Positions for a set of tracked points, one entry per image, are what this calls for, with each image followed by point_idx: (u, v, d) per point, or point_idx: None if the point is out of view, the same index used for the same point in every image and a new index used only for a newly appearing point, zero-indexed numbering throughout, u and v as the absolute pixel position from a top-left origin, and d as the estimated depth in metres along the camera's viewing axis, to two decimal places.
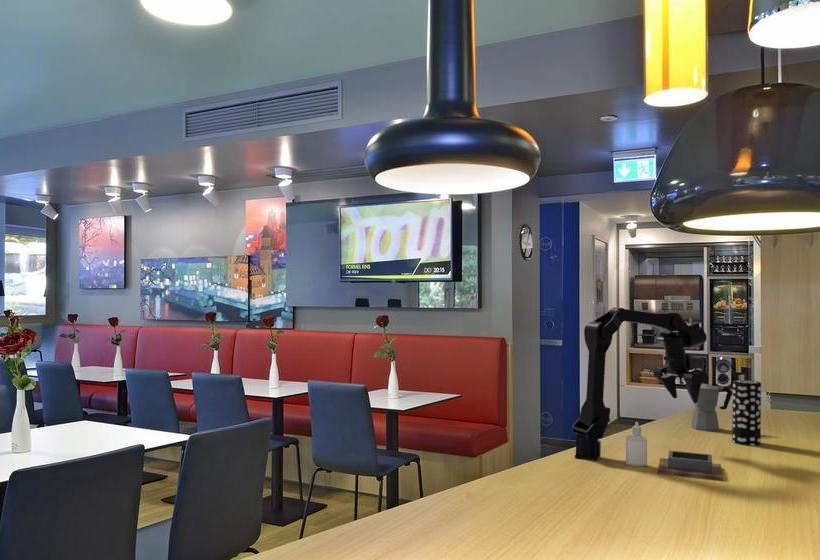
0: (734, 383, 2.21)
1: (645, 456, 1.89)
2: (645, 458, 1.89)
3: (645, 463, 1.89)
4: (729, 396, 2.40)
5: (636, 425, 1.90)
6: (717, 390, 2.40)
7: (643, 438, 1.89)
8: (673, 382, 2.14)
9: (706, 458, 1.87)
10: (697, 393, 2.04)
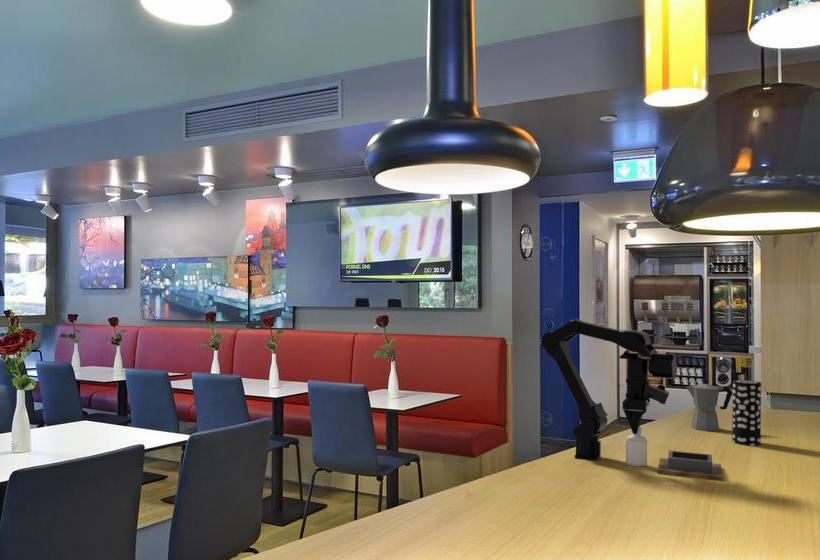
0: (734, 383, 2.21)
1: (645, 456, 1.89)
2: (645, 458, 1.89)
3: (645, 463, 1.89)
4: (729, 396, 2.40)
5: None
6: (717, 390, 2.40)
7: (643, 438, 1.89)
8: None
9: (706, 458, 1.87)
10: (638, 424, 1.85)
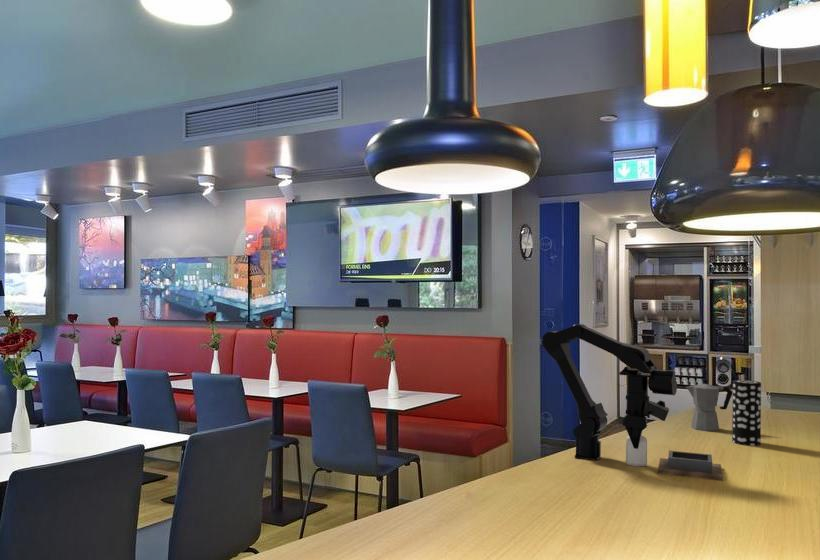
0: (734, 383, 2.21)
1: (645, 456, 1.89)
2: (645, 458, 1.89)
3: (645, 463, 1.89)
4: (729, 396, 2.40)
5: None
6: (717, 390, 2.40)
7: (643, 438, 1.89)
8: None
9: (706, 458, 1.87)
10: (638, 439, 1.88)
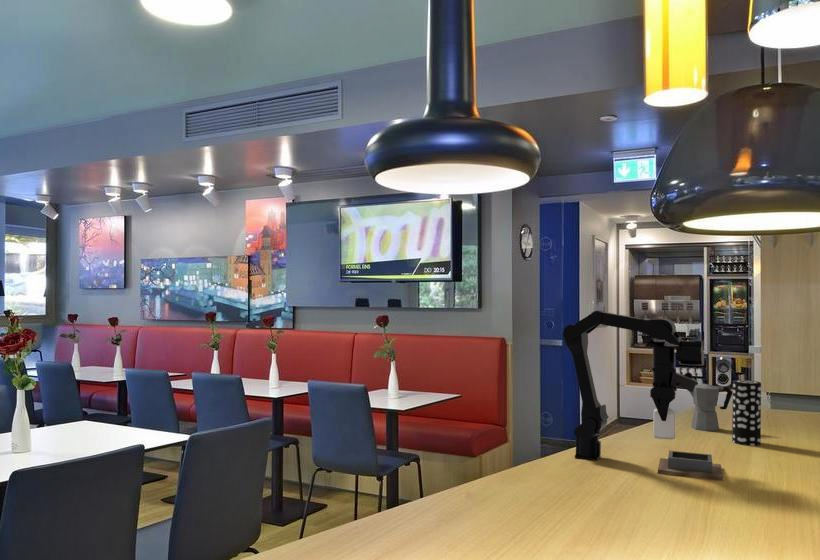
0: (734, 383, 2.21)
1: (673, 429, 1.86)
2: (673, 431, 1.86)
3: (673, 436, 1.86)
4: (729, 396, 2.40)
5: None
6: (717, 390, 2.40)
7: (671, 410, 1.86)
8: None
9: (706, 458, 1.87)
10: (666, 411, 1.85)
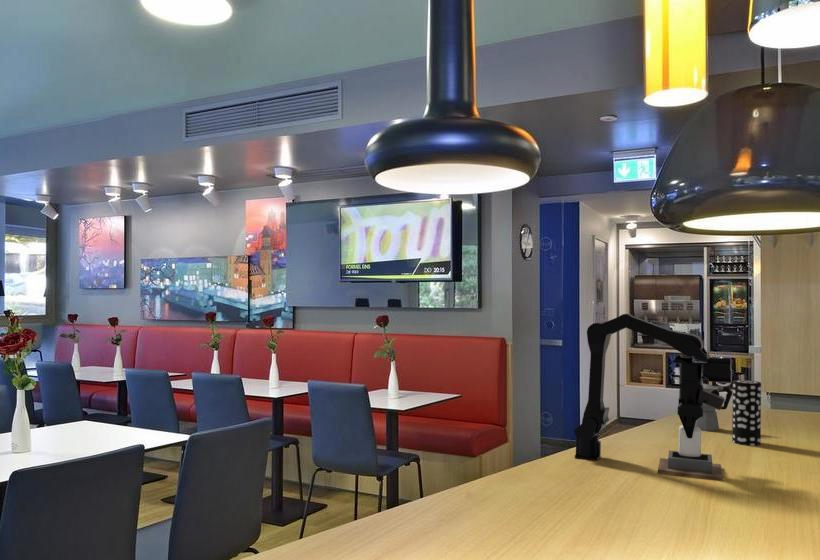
0: (734, 383, 2.21)
1: (699, 446, 1.83)
2: (699, 448, 1.83)
3: (699, 453, 1.83)
4: (729, 396, 2.40)
5: None
6: None
7: (697, 428, 1.84)
8: None
9: (706, 458, 1.87)
10: (693, 428, 1.83)
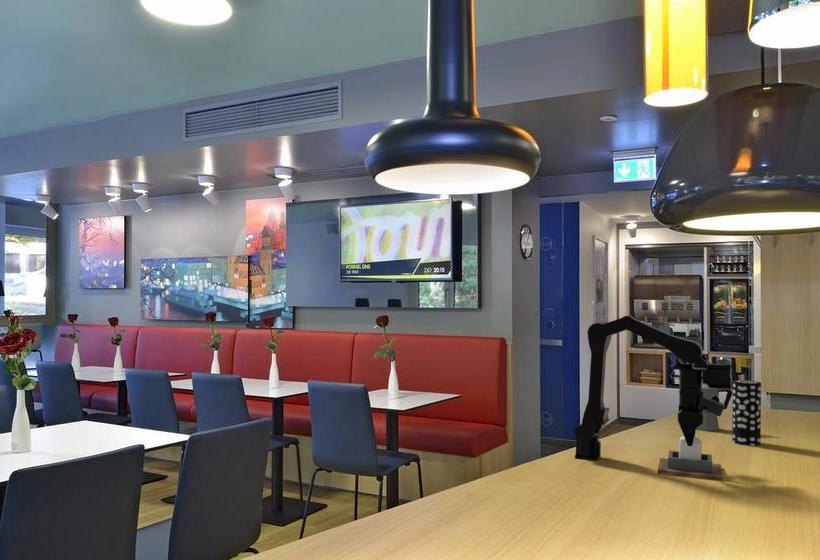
0: (734, 383, 2.21)
1: (699, 458, 1.83)
2: None
3: None
4: (729, 396, 2.40)
5: None
6: (717, 390, 2.40)
7: (698, 440, 1.83)
8: None
9: (706, 458, 1.87)
10: (693, 436, 1.81)
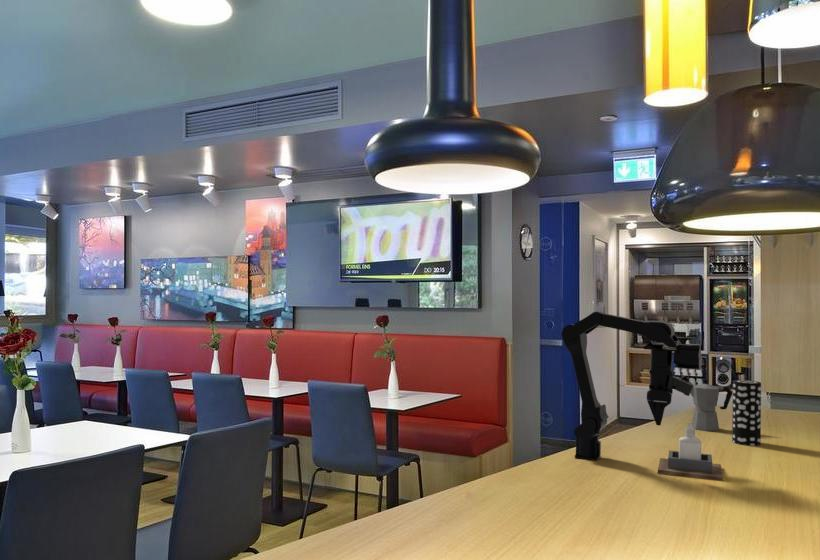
0: (734, 383, 2.21)
1: (699, 458, 1.83)
2: None
3: None
4: (729, 396, 2.40)
5: (690, 426, 1.85)
6: (717, 390, 2.40)
7: (697, 439, 1.84)
8: None
9: (706, 458, 1.87)
10: (661, 415, 1.83)
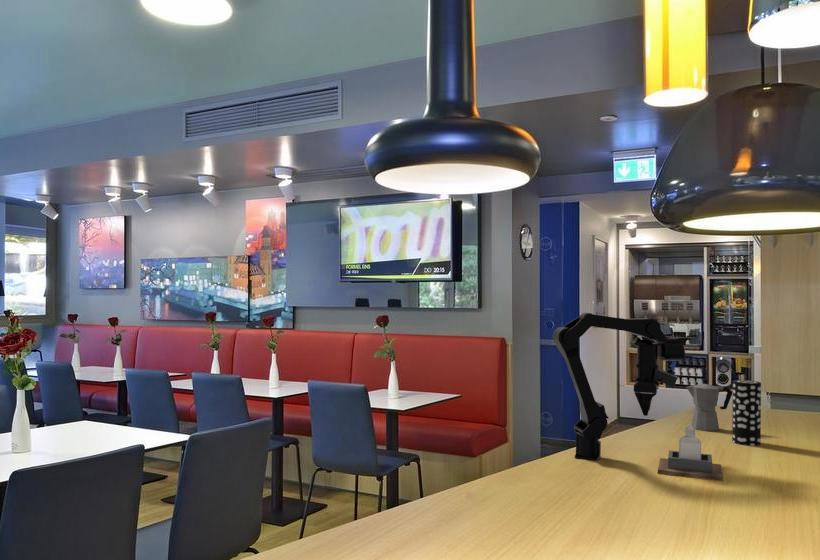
0: (734, 383, 2.21)
1: (699, 458, 1.83)
2: None
3: None
4: (729, 396, 2.40)
5: (690, 426, 1.85)
6: (717, 390, 2.40)
7: (697, 439, 1.84)
8: None
9: (706, 458, 1.87)
10: (648, 406, 1.95)
